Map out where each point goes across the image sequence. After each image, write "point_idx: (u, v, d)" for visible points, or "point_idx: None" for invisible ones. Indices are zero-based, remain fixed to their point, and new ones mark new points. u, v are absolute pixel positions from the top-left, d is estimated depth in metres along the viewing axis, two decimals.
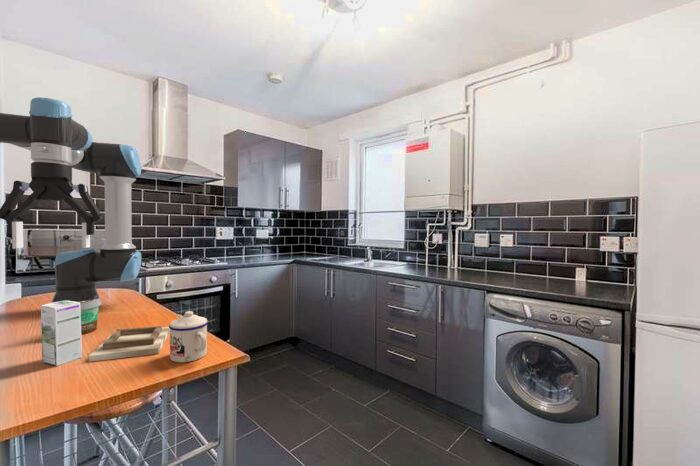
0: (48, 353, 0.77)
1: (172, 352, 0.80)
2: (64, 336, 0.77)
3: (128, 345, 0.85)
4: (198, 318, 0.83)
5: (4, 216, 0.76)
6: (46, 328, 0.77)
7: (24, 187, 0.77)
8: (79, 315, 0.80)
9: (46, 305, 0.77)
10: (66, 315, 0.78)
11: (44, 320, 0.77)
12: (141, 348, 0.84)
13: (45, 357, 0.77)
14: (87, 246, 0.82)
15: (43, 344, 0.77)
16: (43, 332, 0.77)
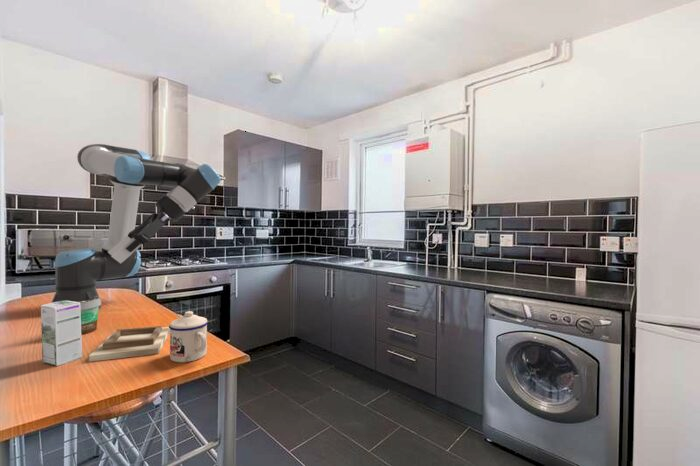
0: (48, 353, 0.77)
1: (172, 352, 0.80)
2: (64, 336, 0.77)
3: (128, 345, 0.85)
4: (198, 318, 0.83)
5: None
6: (46, 328, 0.77)
7: None
8: (79, 315, 0.80)
9: (46, 305, 0.77)
10: (66, 315, 0.78)
11: (44, 320, 0.77)
12: (141, 348, 0.84)
13: (45, 357, 0.77)
14: None
15: (43, 344, 0.77)
16: (43, 332, 0.77)
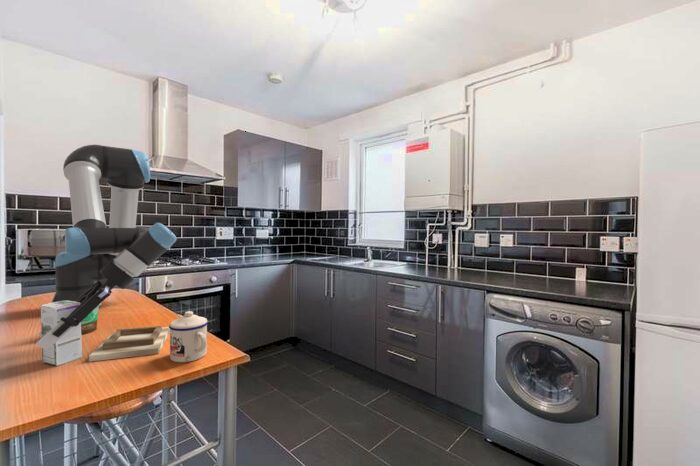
0: (48, 352, 0.77)
1: (172, 352, 0.80)
2: (63, 335, 0.77)
3: (128, 345, 0.85)
4: (198, 318, 0.83)
5: None
6: (46, 328, 0.77)
7: None
8: None
9: (46, 305, 0.77)
10: (66, 315, 0.78)
11: (44, 320, 0.77)
12: (141, 348, 0.84)
13: (45, 357, 0.77)
14: None
15: None
16: (43, 332, 0.77)
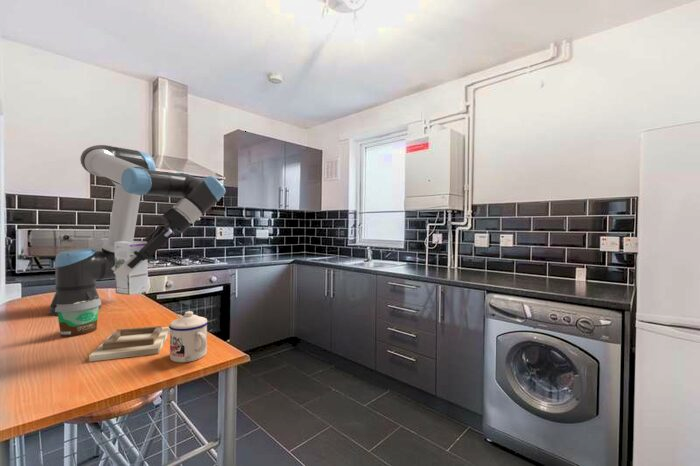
0: (121, 283, 0.86)
1: (172, 352, 0.80)
2: (135, 269, 0.87)
3: (128, 345, 0.85)
4: (198, 318, 0.83)
5: None
6: (120, 262, 0.86)
7: None
8: None
9: (119, 242, 0.87)
10: None
11: (118, 255, 0.87)
12: (141, 348, 0.84)
13: (118, 288, 0.87)
14: None
15: (116, 277, 0.87)
16: (117, 266, 0.87)
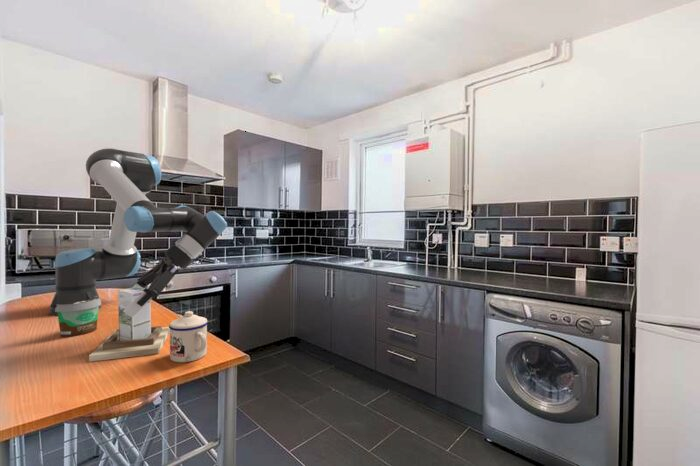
0: (125, 332, 0.87)
1: (172, 352, 0.80)
2: (138, 317, 0.88)
3: (128, 345, 0.85)
4: (198, 318, 0.83)
5: None
6: None
7: None
8: None
9: (123, 290, 0.88)
10: None
11: (121, 304, 0.87)
12: (141, 348, 0.84)
13: (122, 336, 0.88)
14: None
15: (120, 325, 0.88)
16: (120, 314, 0.87)
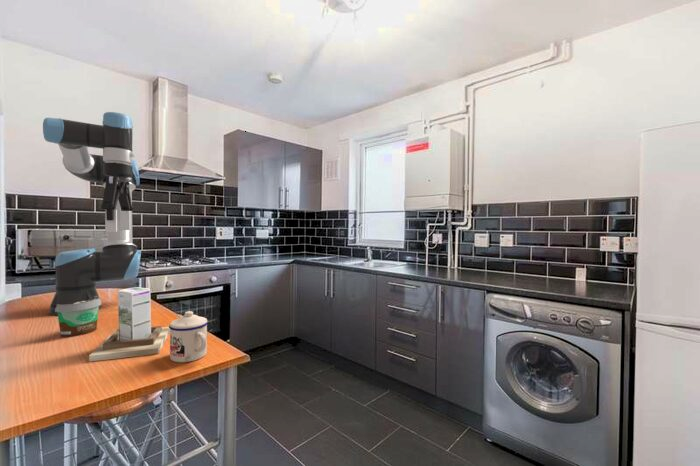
0: (125, 332, 0.87)
1: (172, 352, 0.80)
2: (138, 317, 0.88)
3: (128, 345, 0.85)
4: (198, 318, 0.83)
5: None
6: (123, 311, 0.87)
7: None
8: (149, 300, 0.91)
9: (122, 290, 0.88)
10: (140, 300, 0.88)
11: (121, 304, 0.87)
12: (141, 348, 0.84)
13: (122, 336, 0.88)
14: None
15: (120, 325, 0.88)
16: (120, 314, 0.87)
